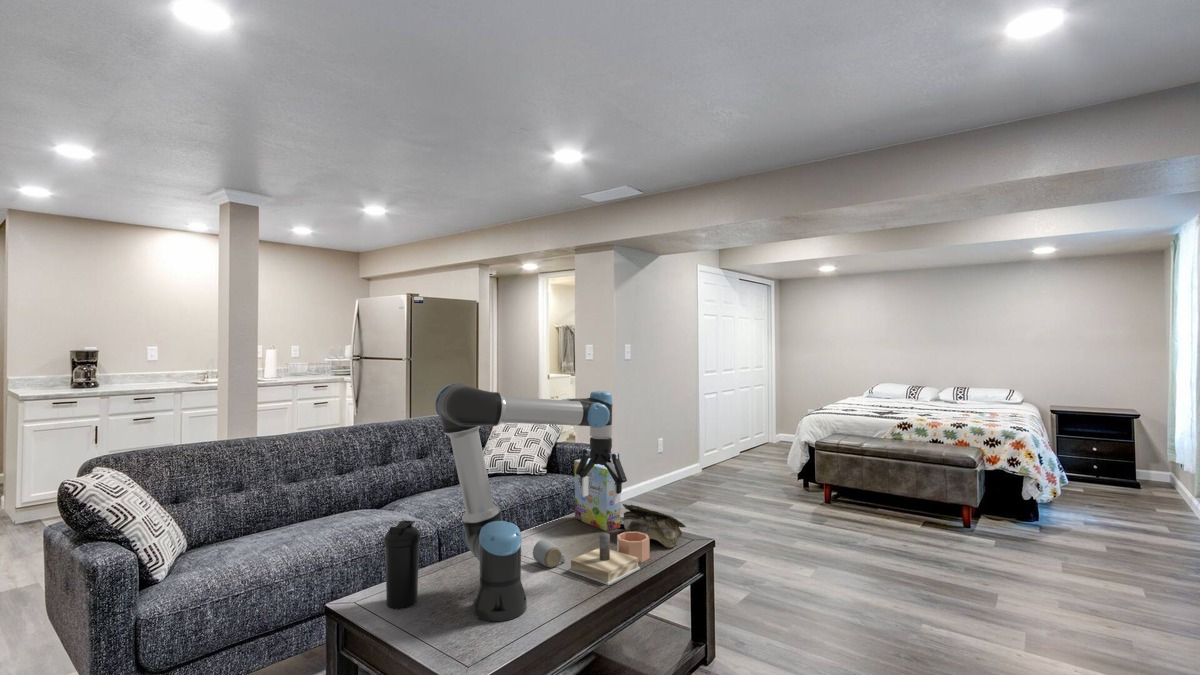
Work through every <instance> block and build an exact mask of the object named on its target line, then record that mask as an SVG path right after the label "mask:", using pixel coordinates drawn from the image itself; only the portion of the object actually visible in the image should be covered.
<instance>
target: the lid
mask: <svg viewBox="0 0 1200 675" xmlns="http://www.w3.org/2000/svg"><path fill="white" fill-rule="evenodd" d="M610 539H611V534H610V533H606V532H603V533H600V534H599V547H598V548H595V549H594V550H590V551H588V552H585V553H584V554H582V555H579V556H577V557H574V558H572V559H571V560H570V569H571V570H574V571H577V572H580V573H583V574H586V575H588V576H591V577H594V578H597V579H600V580H603V581H606V582H610V581H612V580H614V579H616V578H618V577H620V576H622V575H624V574H626V573H628V572H630V571H632V570H634V569H635V568H637V567H639V562H638V558H637V557H634V556H631V555H627V554H624V553H621V552H617V550H614V549H611V544H610V543H611V542H610V541H611V540H610Z"/></svg>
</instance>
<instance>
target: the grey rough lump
mask: <svg viewBox="0 0 1200 675" xmlns="http://www.w3.org/2000/svg"><path fill="white" fill-rule="evenodd" d="M622 506H623V507H624V508H625V509H626V510H628V511H625V512H623V516H622V517H623V518H622V522H623V527H624V529H625V532H641V533H644V534H647V535H648V537H649V539H650V540H655V541H658V542H659V543H660V544H661V545H663V546H664V547H666V548H668V549H669V548H674V547H675V546H676V543H677V541H678V539H680V538H681V537H682V536H683V533H682V530H681V528H683V529H684V528H685V529H686V528H687V526H686V525H685V524H684V523H683V522H681V521H680V520H678V519H677V518H675V517H673V516H671V515H668V514H665V513H661V512H659V511H654V510H650V509H647V508H644V507H640V506H638V505H633V504H630V505H629V504H624V503H622Z"/></svg>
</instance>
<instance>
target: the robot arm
mask: <svg viewBox="0 0 1200 675" xmlns="http://www.w3.org/2000/svg"><path fill="white" fill-rule="evenodd" d="M434 399H435V401H434V407H435V411H436V414H437V415H438V416H439V418H440V421H441V427H442V430H443V434H445V435H446V436H448V437H449V438H450V444H451V448H452V453H453V458H454V463H455V467H456V472H457V476H458V482H459V486H460V490H461V495H462V496H461V497H462V500H463V505H464V510H465V512H464V514H463V515H462V517H461V521H462V526H463V527H462V540H463V542H464V545H465V547H466V549H467V550H469V551H470V552H471V554H473V555H474V557H475V558H477V560H478V561H479V583H478V584H479V585H478V587H477V590H476V591H477V592H476V596H475V598H474V600H473V604H472V608H473V609H472V610H473V611H472V613H473V615H474V616H475V617H477V618H478V619H480V620H482V621H483V620H484V621H488V622H504V621H510V620H513V619H516V618H517V617H519V616H522V615H523V614H524V613H525V612H526V610H527V608H528V606H527V605H528V603H527V602H528V600H527V596H526V593H525V589H524V586H523V583H522V579H521V578H522V577H521V576H522V575H521V574H522V570H521V569H522V566H521V564H522V535H521V534H522V533H521V529H520V527H519V526H517V525H516V524H515V523H513V522H508V521H506V520H503V518H502V517H503V516H502V513H501V509H500V506H498V505H495V503H494V501H493V495H492V494H493V493H492V490H491V485H490V481H489V480H490V479H489V476H488V470H487V466H486V461H485V455H484V452H483V447H482V442H481V437H480V432H479V429H480V428H481V427H498V426H499V425H500V424H508V423H509V424H528V425H529V424H531V425H552V426H553V425H555V426H556V425H557V426H560V425H561V426H580V427H589V436H590V438H589V448H585V449H583V451H582V455H581V458H580V459H581V461H580V463H579V465H578V468H577V470H576V474H577V475H579V476H580V485H581V486H582V497H585V496H588V476H587V474H588V473H589V471H590V470H591V469H592V467H593V466H594V465H595V464H600V465H604V466H605V467H606V468H607V470H608V471H609V473H610V475H611V476H612V478H613V480H614V481H615V484H613V504H616V503H619V502H620V503H621V494H622V491H623V490H622V487H623V486H622V484H623V483H626V482H627V481H628V479H627V476H626V473H625V471H624V468H623V466H622V463H621V459H620V453H619V452H616V453H615V452H614V453H612V451H611V450H612V448H613V439H612V435H613V395H612V393H611V392H610V391H601V390H599V391H598V390H597V391H596V390H595V391H592V392H590V395H589V397H586V398H583V397H582V398H568V397H567V398H564V399H562V398H561V399H551V398H549V399H548V398H534V397H532V398H531V397H517V396H503V395H502V394H501V393H500V392H495V391H494V392H493V391H488V390H483V389H479V388H476V387H474V386H470V385H467V384H464V383H459V382H457V383H451V384H447V385H445V386H444V387H442V388H441V389H440V390H439V391H438V393H437V394H436V397H435V398H434ZM589 458H590V460H589V463H588V464H587V465H586V463H587V461H588V459H589ZM613 465H614V466H613ZM585 466H586V467H585Z"/></svg>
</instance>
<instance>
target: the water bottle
mask: <svg viewBox="0 0 1200 675" xmlns="http://www.w3.org/2000/svg"><path fill="white" fill-rule="evenodd" d="M415 523H416V521H414V520H400V521H399V522H398V524H397V525H395V526H391V527H390V528H389V530H388V531H386V533H385V535H384V536H383V543H384V544H383V545H384V546H385V547H384V550H385V586H386V589H385V590H386V595H385V596H386V607H387V608H388V609H390V610H404V609H408V608H411V607H413V606H415V605H416V604H417V602H418V587H419V565H420V564H419V560H420V559H419V558H420V542H421V537H422V536H421V535H422V534H421V532H420V531H419V529H418V528H417V527H416V526H414V525H413V524H415Z"/></svg>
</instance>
